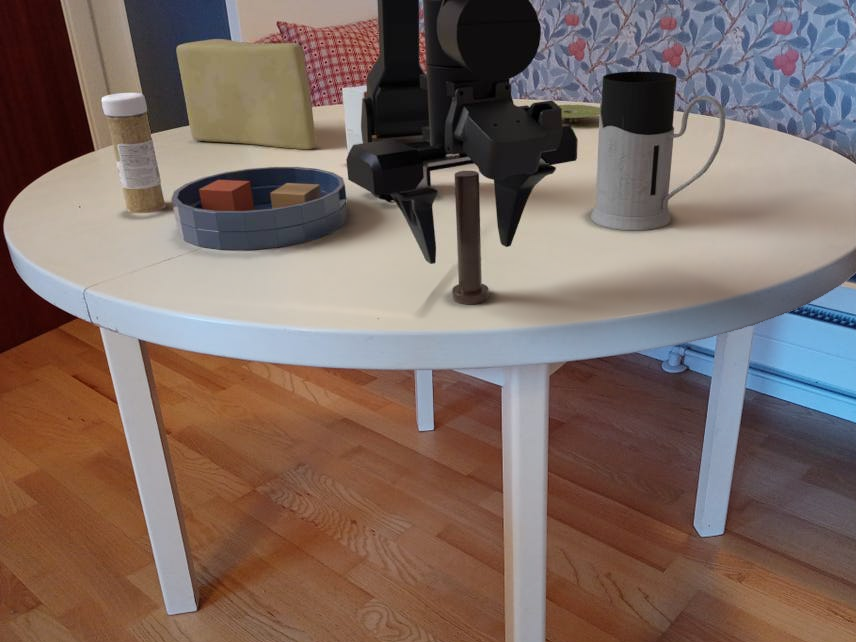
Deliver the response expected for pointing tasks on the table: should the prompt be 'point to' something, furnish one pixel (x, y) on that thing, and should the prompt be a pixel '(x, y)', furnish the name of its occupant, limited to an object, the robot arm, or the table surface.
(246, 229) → the bowl
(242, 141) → the cheese
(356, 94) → the small box
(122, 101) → the sprinkles bottle
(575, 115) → the olive green disc
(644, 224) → the glass holder
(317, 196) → the wood block
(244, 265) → the table surface
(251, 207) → the terracotta block
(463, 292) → the stirring stick
